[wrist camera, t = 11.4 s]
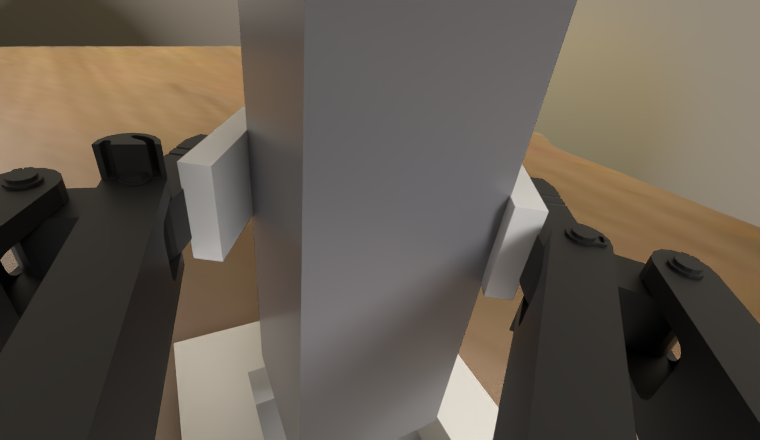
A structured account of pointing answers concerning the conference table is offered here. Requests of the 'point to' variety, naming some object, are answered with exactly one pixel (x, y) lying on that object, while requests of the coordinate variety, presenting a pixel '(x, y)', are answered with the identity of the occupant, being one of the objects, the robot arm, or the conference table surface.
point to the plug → (382, 191)
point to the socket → (257, 403)
